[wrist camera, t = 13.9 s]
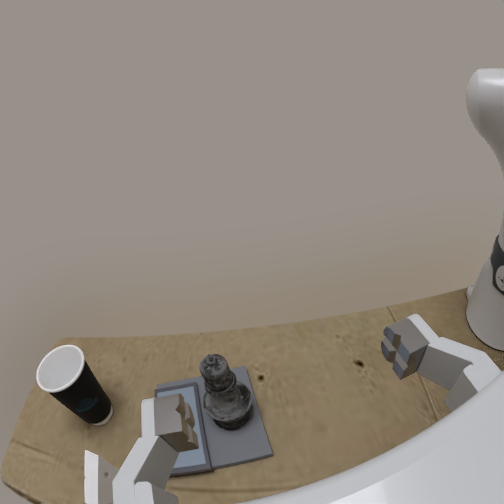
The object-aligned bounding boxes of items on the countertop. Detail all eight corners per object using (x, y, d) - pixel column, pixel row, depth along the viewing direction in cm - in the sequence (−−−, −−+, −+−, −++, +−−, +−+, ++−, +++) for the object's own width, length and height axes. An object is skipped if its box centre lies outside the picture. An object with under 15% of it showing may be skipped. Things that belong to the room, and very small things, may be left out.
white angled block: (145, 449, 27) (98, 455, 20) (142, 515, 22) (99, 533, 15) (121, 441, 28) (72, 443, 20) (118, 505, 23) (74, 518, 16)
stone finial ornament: (200, 418, 32) (167, 362, 26) (228, 387, 36) (205, 325, 30) (238, 441, 29) (213, 390, 23) (265, 405, 33) (252, 345, 27)
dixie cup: (90, 387, 38) (54, 340, 33) (129, 396, 37) (93, 348, 31) (71, 426, 31) (27, 382, 26) (111, 440, 30) (65, 397, 24)
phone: (197, 385, 37) (195, 381, 36) (212, 470, 26) (210, 468, 25) (157, 392, 36) (154, 389, 36) (163, 476, 25) (159, 474, 25)
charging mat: (246, 369, 40) (245, 365, 39) (273, 455, 28) (272, 453, 27) (159, 388, 38) (156, 384, 37) (165, 475, 26) (162, 473, 26)
